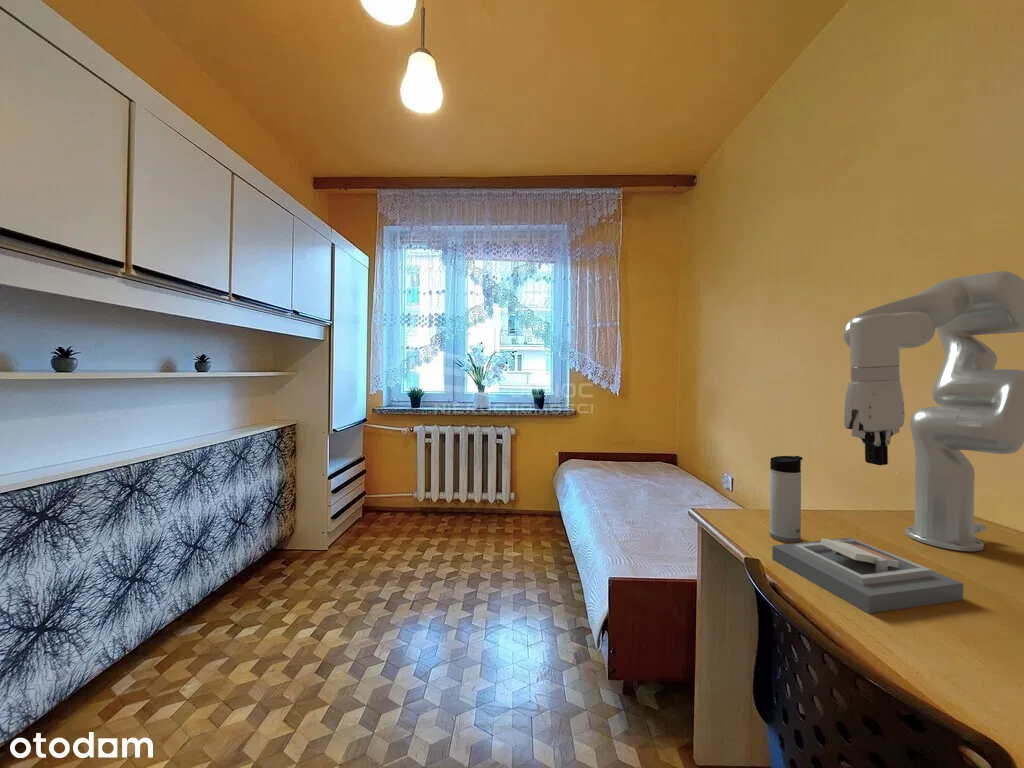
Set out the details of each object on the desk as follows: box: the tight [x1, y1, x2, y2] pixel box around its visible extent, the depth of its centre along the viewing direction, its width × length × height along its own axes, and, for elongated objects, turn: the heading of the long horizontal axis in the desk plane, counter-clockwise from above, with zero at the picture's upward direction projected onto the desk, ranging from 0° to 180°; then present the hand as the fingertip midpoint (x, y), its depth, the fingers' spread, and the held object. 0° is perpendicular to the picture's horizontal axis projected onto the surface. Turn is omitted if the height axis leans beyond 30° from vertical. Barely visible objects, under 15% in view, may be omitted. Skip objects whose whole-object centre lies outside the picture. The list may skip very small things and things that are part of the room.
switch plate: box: [771, 537, 964, 614], centre depth 79 cm, size 20×20×6 cm
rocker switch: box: [820, 538, 899, 568], centre depth 79 cm, size 10×7×1 cm
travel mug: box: [769, 455, 803, 544], centre depth 98 cm, size 6×7×20 cm
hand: (876, 463), depth 84 cm, fingers closed
